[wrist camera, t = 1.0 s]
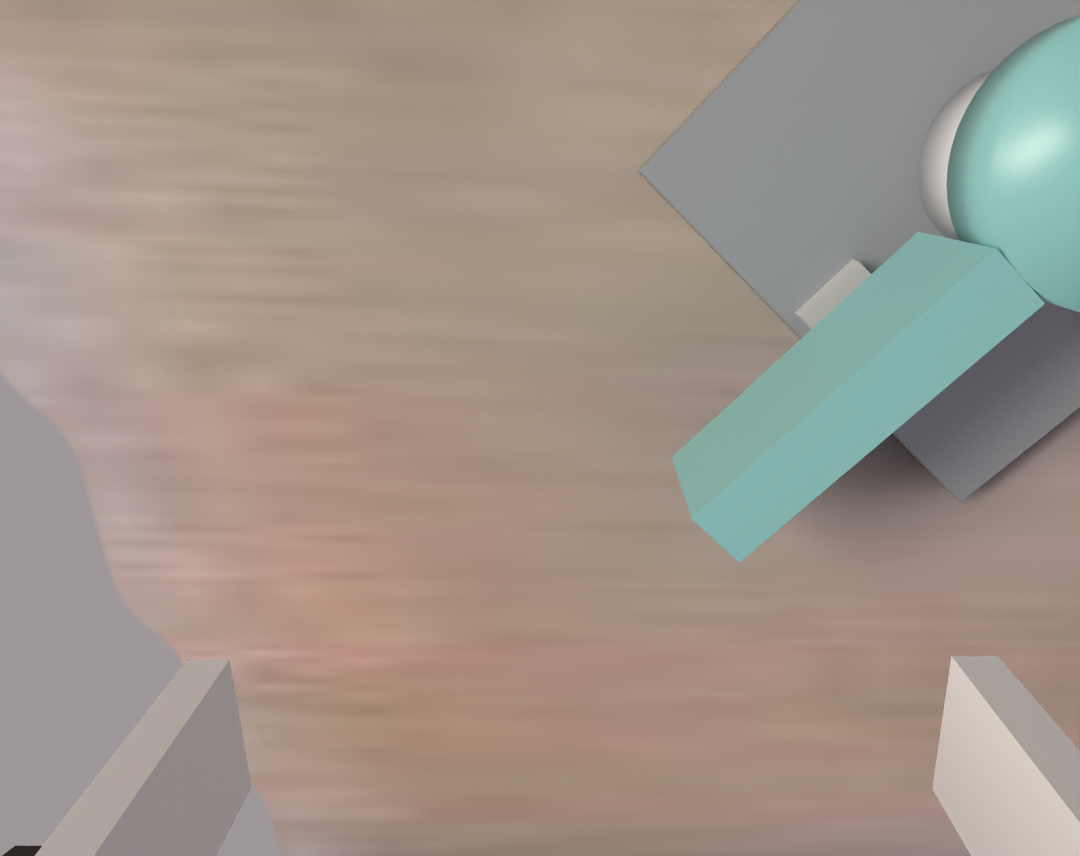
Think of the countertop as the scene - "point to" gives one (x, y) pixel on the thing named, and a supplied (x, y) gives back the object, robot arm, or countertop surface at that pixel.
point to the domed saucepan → (911, 307)
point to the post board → (870, 193)
